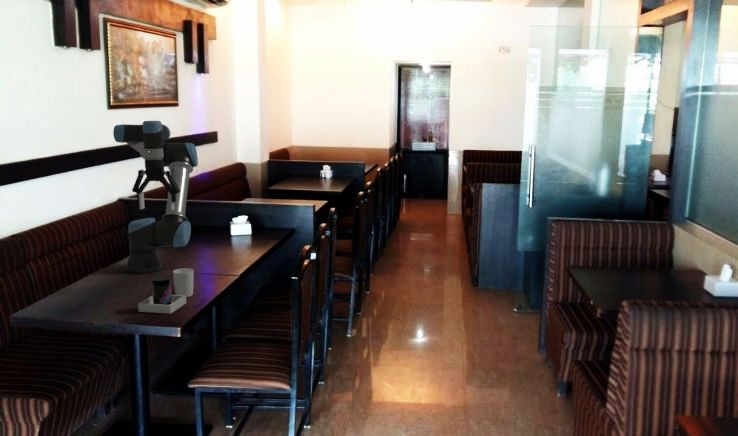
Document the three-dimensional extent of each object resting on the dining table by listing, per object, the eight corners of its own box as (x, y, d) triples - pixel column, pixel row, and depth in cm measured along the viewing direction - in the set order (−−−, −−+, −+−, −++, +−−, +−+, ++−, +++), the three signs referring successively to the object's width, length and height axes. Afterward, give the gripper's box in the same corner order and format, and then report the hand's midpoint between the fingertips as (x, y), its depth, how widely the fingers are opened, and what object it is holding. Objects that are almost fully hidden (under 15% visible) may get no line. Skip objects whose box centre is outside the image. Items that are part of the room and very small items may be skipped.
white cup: (187, 290, 253) (185, 267, 252) (198, 294, 249) (197, 270, 247) (170, 295, 247) (168, 271, 246) (181, 299, 243) (180, 274, 241)
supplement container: (156, 309, 228) (155, 281, 226) (150, 304, 233) (148, 277, 231) (174, 305, 232) (173, 278, 230) (168, 301, 237) (166, 274, 235)
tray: (138, 311, 228) (138, 303, 227) (155, 301, 240) (155, 293, 239) (170, 313, 226) (170, 305, 225) (186, 302, 238) (185, 295, 237)
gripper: (121, 158, 254) (124, 209, 258) (178, 160, 250) (180, 212, 254) (131, 157, 261) (134, 206, 265) (186, 158, 257) (189, 208, 261)
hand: (157, 209), depth 260 cm, fingers open, 13 cm apart
